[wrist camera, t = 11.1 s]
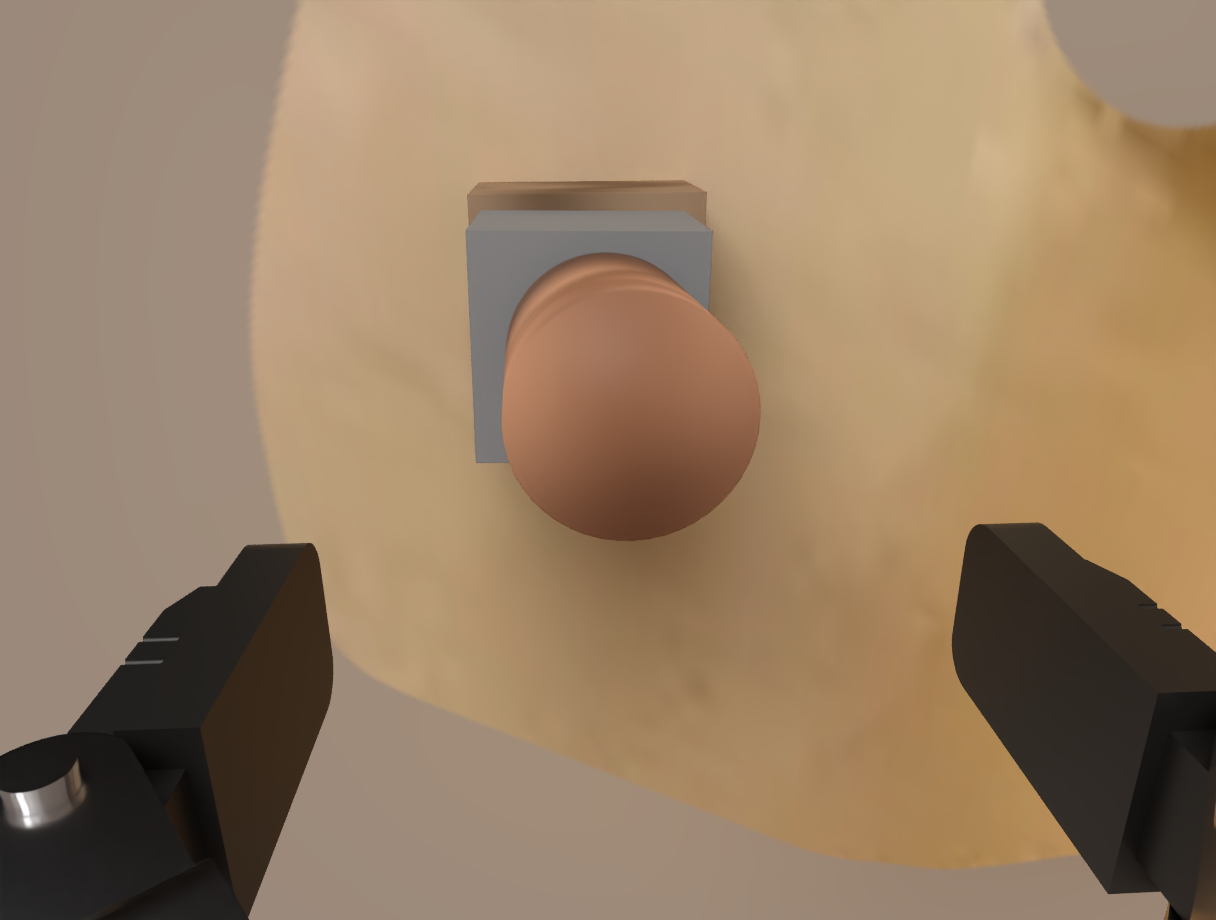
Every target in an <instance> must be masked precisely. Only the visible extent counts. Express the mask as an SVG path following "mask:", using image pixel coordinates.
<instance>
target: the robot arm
mask: <svg viewBox="0 0 1216 920" xmlns="http://www.w3.org/2000/svg"><path fill="white" fill-rule="evenodd" d="M952 653H953V660H954V665H955V669H956V673H957V675H958V678H959V680H960V682H961V684H962V686H963V688H964V689H965V691H966V692H967V693H968V695H969V696H970V698H971V699H972V700H973V702H974V703H975V705H976V706H977V708H978V709H979V710H980V712H981V713H982V715H983V716H984V718H985V719H986V720H987V722H988V723H989V725H990V726H991V728H992V729H993V730H994V732H995V733H996V735H997V736H998V738H999V739H1000V740H1001V742H1002V743H1003V745H1004V746H1005V748H1006V749H1007V750H1008V752H1009V753H1010V755H1011V756H1012V758H1013V759H1014V760H1015V762H1016V763H1017V765H1018V766H1019V768H1020V769H1021V770H1022V772H1023V773H1024V775H1025V776H1026V777H1027V779H1028V780H1029V782H1030V783H1031V785H1032V786H1033V787H1034V789H1035V790H1036V792H1037V793H1038V795H1039V796H1040V797H1041V799H1042V800H1043V802H1044V803H1045V805H1046V806H1047V807H1048V809H1049V810H1050V812H1051V813H1052V815H1053V816H1054V817H1055V819H1056V820H1057V822H1058V823H1059V825H1060V826H1061V827H1062V829H1063V830H1064V832H1065V833H1066V835H1067V836H1068V837H1069V839H1070V840H1071V842H1072V843H1073V845H1074V846H1075V847H1076V849H1077V850H1078V852H1079V853H1080V854H1081V856H1082V857H1083V859H1084V860H1085V861H1086V863H1087V864H1088V866H1089V867H1090V869H1091V870H1092V871H1093V873H1094V874H1095V876H1096V877H1097V879H1098V880H1099V882H1100V883H1101V884H1102V886H1103V887H1104V889H1105V890H1106V891H1107V893H1108V894H1120V893H1140V892H1161V893H1162V894H1163V895H1164V896H1165V898H1166V899H1167V900H1168V902H1169V903H1168V907H1167V910H1166V914H1165V917H1164V920H1216V652H1215V651H1213V650H1212V649H1211V648H1210V647H1209V646H1207V645H1206V644H1205V643H1204V642H1203V641H1201V640H1200V639H1199V638H1198V637H1197V636H1195V635H1194V634H1193V633H1192V632H1190V631H1189V630H1188V629H1182V628H1181V623H1180V622H1178V621H1177V620H1176V619H1175V618H1173V617H1172V616H1171V615H1170V614H1169V613H1167V612H1166V611H1165V610H1164V609H1158V608H1157V603H1155V602H1154V601H1153V600H1152V599H1150V598H1149V597H1148V596H1147V595H1146V594H1144V593H1143V592H1142V591H1141V590H1140V589H1138V588H1137V587H1136V586H1135V585H1134V584H1132V583H1131V582H1130V581H1129V580H1127V579H1125V578H1123V577H1121V576H1119V575H1117V574H1115V573H1113V572H1111V571H1108V570H1106V569H1104V568H1102V567H1100V566H1098V565H1096V564H1094V563H1092V562H1090V561H1088V560H1085V559H1083V558H1082V557H1081V556H1080V555H1079V554H1078V553H1076V552H1075V551H1074V550H1073V549H1072V548H1071V547H1069V546H1068V545H1067V544H1066V543H1065V542H1064V541H1062V540H1061V539H1060V538H1059V537H1058V536H1057V535H1055V534H1054V533H1053V532H1052V531H1051V530H1050V529H1048V528H1047V527H1046V526H1045V525H1043V524H1041V523H1007V524H978V525H976V526H975V527H973V528H972V530H971V531H970V533H969V535H968V538H967V541H966V546H965V552H964V559H963V566H962V572H961V579H960V586H959V593H958V599H957V606H956V613H955V620H954V627H953V634H952ZM332 685H333V656H332V649H331V641H330V634H329V626H328V619H327V612H326V604H325V597H324V590H323V582H322V575H321V568H320V562H319V557H318V553H317V551H316V548H315V547H314V545H313V544H311V543H295V544H263V545H247V546H245V547H244V548H243V550H242V551H241V553H240V554H239V555H238V557H237V558H236V559H235V561H234V562H233V564H232V565H231V566H230V568H229V569H228V571H227V572H226V573H225V575H224V576H223V578H222V579H221V580H220V582H219V583H218V585H217V586H209V587H208V586H205V587H199V588H197V589H196V590H194V591H193V592H191V593H189V594H188V595H186V596H185V597H184V598H182V599H180V600H179V601H177V602H176V603H174V604H173V605H171V606H169V607H168V608H166V609H165V610H164V611H163V612H162V613H161V615H160V616H159V617H158V618H157V620H156V621H155V622H154V624H153V625H152V626H151V627H150V628H149V630H148V631H147V632H146V634H145V635H144V636H143V642H139V643H138V644H137V645H136V647H135V648H134V649H133V650H132V652H131V653H130V654H129V655H128V657H127V658H126V659H125V665H121V666H120V667H119V668H118V669H117V670H116V672H115V673H114V674H113V676H112V677H111V678H110V679H109V681H108V682H107V683H106V684H105V686H104V687H103V688H102V690H101V691H100V692H99V693H98V695H97V696H96V697H95V698H94V700H93V701H92V702H91V704H90V705H89V706H88V707H87V709H86V710H85V711H84V713H83V714H82V715H81V716H80V718H79V719H78V720H77V721H76V723H75V724H74V725H73V726H72V728H71V729H70V730H69V732H68V733H67V734H62V735H56V736H52V737H48V738H44V739H40V740H37V741H34V742H31V743H29V744H25V745H23V746H20V747H18V748H16V749H13V750H11V751H9V752H7V753H5V754H3V755H1V756H0V920H249V918H248V916H249V914H250V911H251V908H252V906H253V903H254V901H255V898H256V896H257V893H258V890H259V887H260V885H261V882H262V880H263V877H264V875H265V872H266V869H267V867H268V864H269V862H270V859H271V856H272V854H273V851H274V848H275V846H276V843H277V841H278V838H279V835H280V833H281V830H282V828H283V825H284V822H285V820H286V817H287V815H288V812H289V809H290V807H291V804H292V801H293V799H294V796H295V794H296V791H297V788H298V786H299V783H300V781H301V778H302V775H303V773H304V770H305V768H306V765H307V762H308V760H309V757H310V755H311V752H312V749H313V747H314V744H315V742H316V739H317V736H318V734H319V731H320V729H321V726H322V723H323V721H324V718H325V715H326V713H327V710H328V707H329V704H330V699H331V693H332Z"/></svg>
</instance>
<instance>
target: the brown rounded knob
mask: <svg viewBox="0 0 1216 920" xmlns="http://www.w3.org/2000/svg"><path fill="white" fill-rule="evenodd" d="M759 425H760V397H759V391H758V385H757V381H756V378H755V375H754V372H753V369H752V366H751V364H750V362H749V360H748V358H747V356H746V354H745V352H744V351H743V349H742V348H741V346H740V344H739V343H738V341H737V340H736V339H735V338H734V336H733V335H732V334H731V333H730V332H729V331H728V330H727V328H726V327H725V326H723V325H722V324H721V323H720V322H719V321H718V320H717V319H716V318H715V317H714V316H713V315H712V314H710V313H709V312H708V311H707V310H706V309H705V308H704V307H703V306H702V305H701V304H700V303H698V302H697V301H696V300H695V299H694V298H693V297H692V296H691V295H690V294H689V293H688V292H687V291H685V290H684V289H683V288H682V287H681V286H680V285H679V284H678V283H677V282H676V281H675V280H673V279H672V278H671V277H670V276H669V275H668V274H667V273H665V272H664V271H663V270H661V269H659V268H658V267H656V266H655V265H653V264H651V263H649V262H647V261H645V260H643V259H640V258H637V257H634V256H631V255H626V254H620V253H607V252H602V253H591V254H586V255H582V256H577V257H575V258H572V259H569V260H567V261H564V262H562V263H560V264H558V265H557V266H555V267H553V268H551V269H550V270H549V271H547V272H546V273H544V274H543V275H542V276H541V277H540V278H539V279H537V280H536V281H535V282H534V283H533V284H532V285H531V287H530V288H529V289H528V290H527V292H526V293H525V294H524V295H523V297H522V299H521V300H520V302H519V304H518V305H517V307H516V309H515V312H514V314H513V316H512V319H511V322H510V325H509V329H508V334H507V341H506V353H505V369H504V385H503V401H502V434H503V442H504V447H505V450H506V454H507V458H508V461H509V463H510V465H511V468H512V470H513V472H514V475H515V476H516V478H517V480H518V481H519V483H520V485H521V486H522V488H523V489H524V491H525V492H526V493H527V494H528V496H529V497H530V498H531V499H532V501H534V502H535V503H536V504H537V505H538V506H539V507H540V508H541V509H542V510H543V511H544V512H545V513H547V514H548V515H549V516H551V517H552V518H553V519H555V520H556V521H558V522H560V523H561V524H563V525H565V526H567V527H569V528H571V529H573V530H576V531H578V532H581V533H583V534H586V535H589V536H593V537H597V538H601V539H609V540H616V541H635V540H644V539H651V538H655V537H660V536H664V535H667V534H670V533H673V532H675V531H678V530H681V529H683V528H685V527H687V526H689V525H691V524H693V523H695V522H696V521H698V520H699V519H701V518H702V517H704V516H705V515H707V514H708V513H709V512H711V511H712V510H713V509H714V508H715V507H716V506H718V505H719V504H720V503H721V502H722V501H723V500H724V499H725V498H726V497H727V495H728V494H729V493H730V492H731V491H732V490H733V488H734V487H735V486H736V484H737V483H738V481H739V480H740V479H741V477H742V475H743V473H744V472H745V470H746V468H747V466H748V464H749V462H750V459H751V457H752V454H753V452H754V449H755V445H756V441H757V437H758V433H759Z"/></svg>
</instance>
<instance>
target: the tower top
mask: <svg viewBox="0 0 1216 920" xmlns="http://www.w3.org/2000/svg"><path fill="white" fill-rule="evenodd" d="M712 233H713V231H711V230H710V229H709V228H707V227H706V226H704V225H703V224H702V223H700V222H699V221H698V220H696V219H695V218H694V217H692V216H691V215H689V214H688V213H687V212H685V211H563V210H480V212H479V213H478V214H477V216H476V217H475V219H474V220H473V221H472V223H471V224H470V225H469V227H468V228H467V229H466V249H467V272H468V295H469V317H470V340H471V362H472V385H473V408H474V430H475V453H476V463H509V461H508V458H507V454H506V450H505V447H504V442H503V434H502V401H503V385H504V369H505V353H506V341H507V334H508V329H509V325H510V322H511V319H512V316H513V314H514V312H515V309H516V307H517V305H518V304H519V302H520V300H521V299H522V297H523V295H524V294H525V293H526V292H527V290H528V289H529V288H530V287H531V285H532V284H533V283H534V282H535V281H536V280H537V279H539V278H540V277H541V276H542V275H543V274H544V273H546V272H547V271H549V270H550V269H551V268H553V267H555V266H557V265H558V264H560V263H562V262H564V261H567V260H569V259H572V258H575V257H577V256H582V255H586V254H591V253H602V252H607V253H620V254H626V255H631V256H634V257H637V258H640V259H643V260H645V261H647V262H649V263H651V264H653V265H655V266H656V267H658V268H659V269H661V270H663V271H664V272H665V273H667V274H668V275H669V276H670V277H671V278H672V279H673V280H675V281H676V282H677V283H678V284H679V285H680V286H681V287H682V288H683V289H684V290H685V291H687V292H688V293H689V294H690V295H691V296H692V297H693V298H694V299H695V300H696V301H697V302H698V303H700V304H701V305H702V306H703V307H704V308H705V309H706V310H707V311H708V312H709V293H710V273H711V253H712Z"/></svg>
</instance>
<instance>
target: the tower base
mask: <svg viewBox="0 0 1216 920" xmlns="http://www.w3.org/2000/svg"><path fill="white" fill-rule="evenodd" d="M706 197H707V192H705V191H703V190H701V189H700V188H698V187H696V186H694V185H692V184H690V183H688V182H686V181H684V180H674V181H579V182H485V183H478V184H477V186H476V187H475V188H474V189H473V190H472V191H471V192H470V193H469V194H468V195H467V200H468V217H469V225H470V224H471V223H472V221H473V220H474V219H475V217H476V216H477V214H478V213H479V212H480V210H563V211H685V212H687V213H688V214H689V215H691V216H692V217H694V218H695V219H696V220H698V221H699V222H700V223H702V224H703V225H704V226H706Z"/></svg>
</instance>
